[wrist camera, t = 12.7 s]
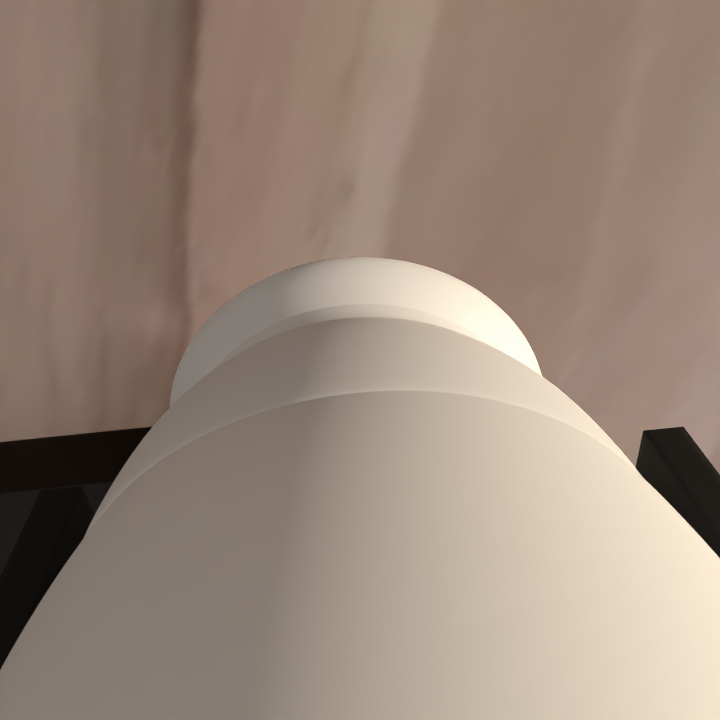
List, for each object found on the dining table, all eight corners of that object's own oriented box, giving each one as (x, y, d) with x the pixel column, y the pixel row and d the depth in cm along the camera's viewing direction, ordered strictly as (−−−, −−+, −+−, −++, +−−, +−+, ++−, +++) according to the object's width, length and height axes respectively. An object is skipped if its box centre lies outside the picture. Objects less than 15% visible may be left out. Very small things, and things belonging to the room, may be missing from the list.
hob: (259, 415, 30) (255, 469, 27) (294, 599, 37) (294, 659, 34) (-97, 451, 30) (-143, 511, 27) (6, 631, 37) (-21, 694, 34)
